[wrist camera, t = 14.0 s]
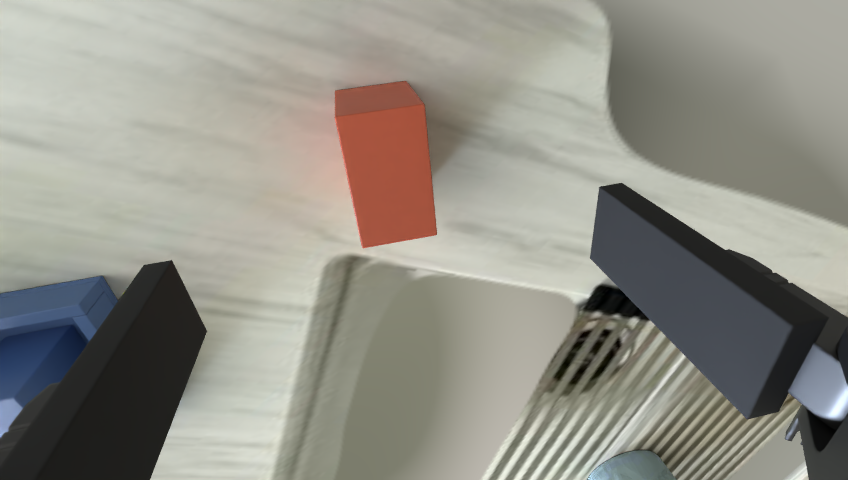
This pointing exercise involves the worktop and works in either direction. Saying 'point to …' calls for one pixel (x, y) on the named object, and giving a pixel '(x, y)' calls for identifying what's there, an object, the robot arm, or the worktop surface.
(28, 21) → the worktop surface
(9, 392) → the blue rectangular block
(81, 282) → the tray blue
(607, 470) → the drinking glass
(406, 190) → the rust bar
